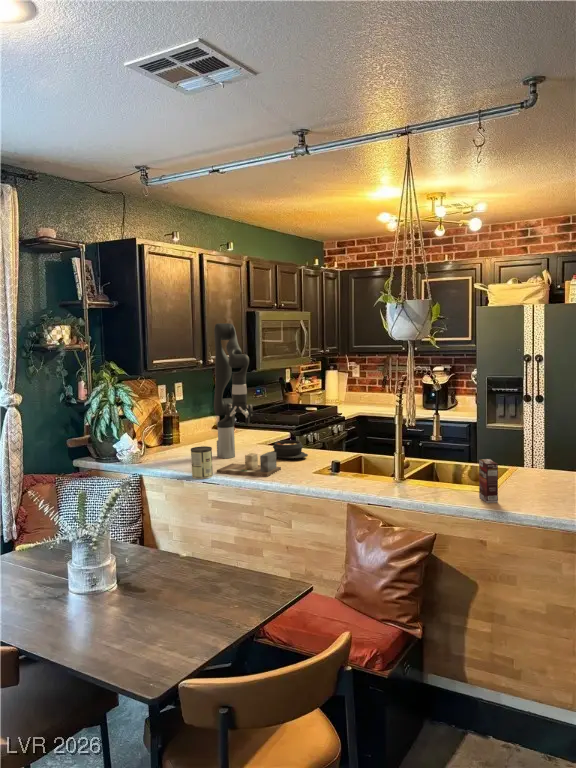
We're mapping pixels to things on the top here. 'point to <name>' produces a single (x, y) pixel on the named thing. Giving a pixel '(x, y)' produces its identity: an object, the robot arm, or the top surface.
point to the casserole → (288, 449)
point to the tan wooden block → (251, 461)
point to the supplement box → (488, 480)
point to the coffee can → (201, 462)
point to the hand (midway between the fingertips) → (240, 424)
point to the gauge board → (263, 469)
